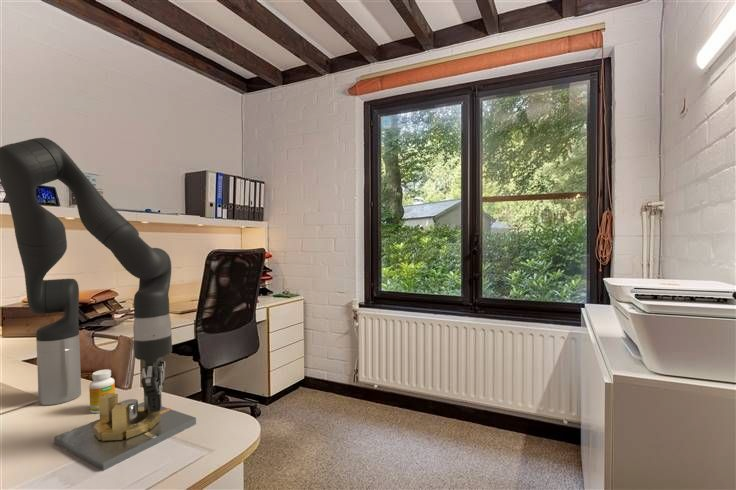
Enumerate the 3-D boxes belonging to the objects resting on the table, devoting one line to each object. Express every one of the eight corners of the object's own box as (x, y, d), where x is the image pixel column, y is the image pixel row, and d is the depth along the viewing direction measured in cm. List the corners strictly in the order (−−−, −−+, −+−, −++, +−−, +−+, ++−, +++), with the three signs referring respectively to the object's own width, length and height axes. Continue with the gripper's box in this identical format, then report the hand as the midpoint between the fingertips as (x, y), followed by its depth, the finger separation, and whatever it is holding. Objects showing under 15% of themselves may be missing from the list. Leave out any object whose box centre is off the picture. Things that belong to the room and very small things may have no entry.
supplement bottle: (102, 414, 95) (101, 376, 95) (84, 412, 96) (83, 375, 96) (120, 405, 100) (119, 368, 100) (103, 403, 101) (102, 367, 101)
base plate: (54, 443, 82) (52, 411, 81) (146, 406, 99) (145, 380, 99) (103, 470, 72) (102, 434, 72) (196, 423, 89) (195, 394, 89)
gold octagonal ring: (104, 446, 77) (103, 414, 77) (88, 427, 85) (87, 398, 85) (167, 423, 86) (167, 395, 86) (148, 408, 94) (147, 382, 94)
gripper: (165, 340, 81) (168, 420, 81) (175, 327, 94) (178, 396, 94) (125, 344, 79) (128, 426, 79) (141, 330, 91) (144, 401, 92)
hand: (155, 410), depth 87 cm, fingers closed
